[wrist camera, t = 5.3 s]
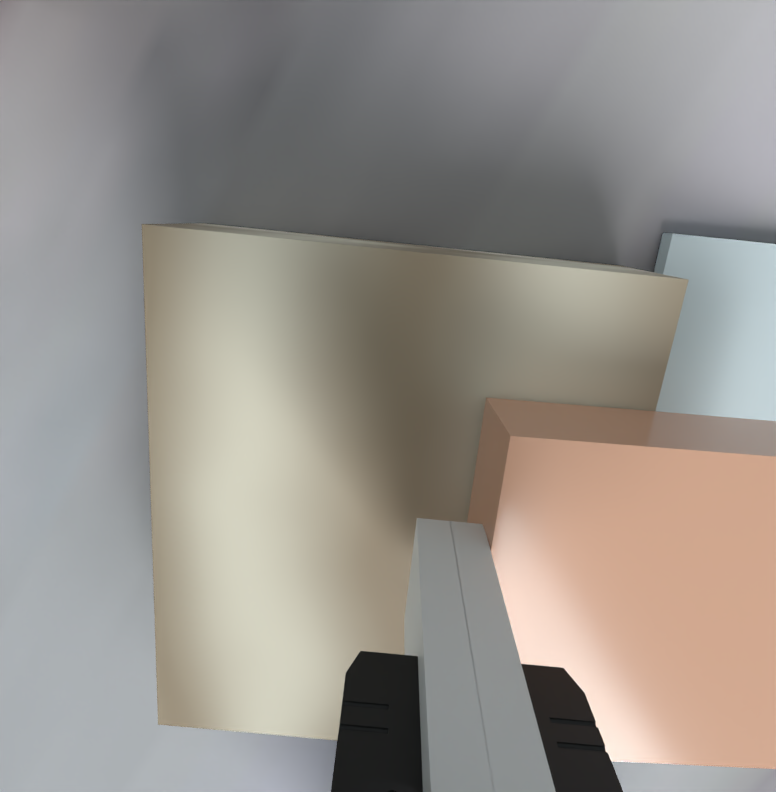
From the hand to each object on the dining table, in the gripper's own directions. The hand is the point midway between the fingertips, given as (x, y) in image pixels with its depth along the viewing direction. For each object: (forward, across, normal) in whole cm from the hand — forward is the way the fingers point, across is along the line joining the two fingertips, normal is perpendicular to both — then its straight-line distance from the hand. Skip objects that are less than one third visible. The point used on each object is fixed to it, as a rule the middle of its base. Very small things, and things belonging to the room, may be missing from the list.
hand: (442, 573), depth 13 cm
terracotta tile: (+2, -5, 0) cm, 5 cm away
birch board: (+6, +1, 0) cm, 6 cm away
